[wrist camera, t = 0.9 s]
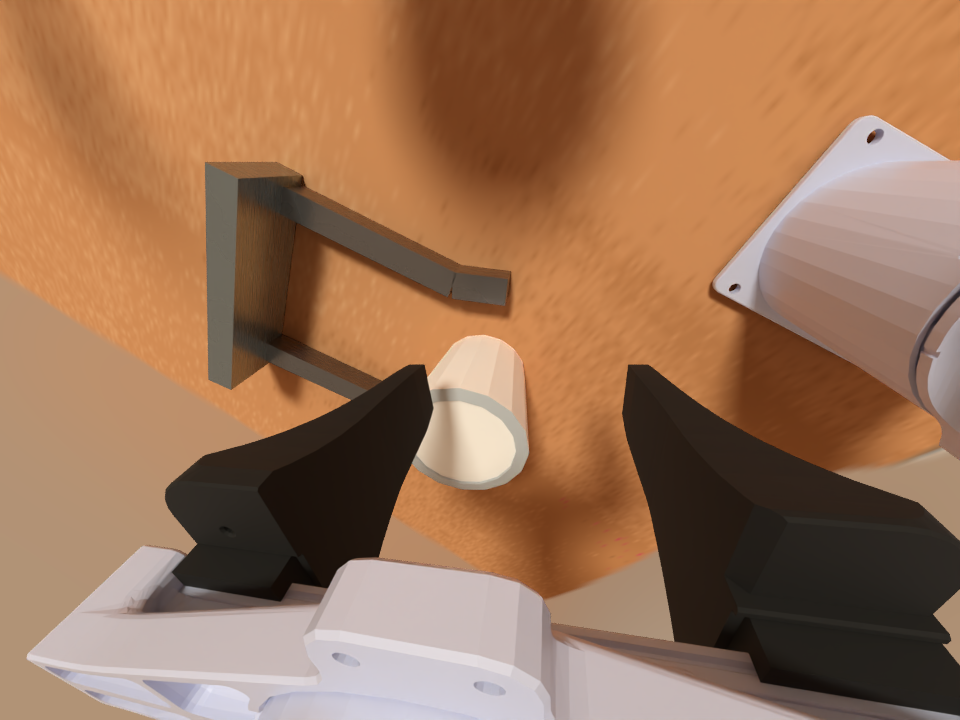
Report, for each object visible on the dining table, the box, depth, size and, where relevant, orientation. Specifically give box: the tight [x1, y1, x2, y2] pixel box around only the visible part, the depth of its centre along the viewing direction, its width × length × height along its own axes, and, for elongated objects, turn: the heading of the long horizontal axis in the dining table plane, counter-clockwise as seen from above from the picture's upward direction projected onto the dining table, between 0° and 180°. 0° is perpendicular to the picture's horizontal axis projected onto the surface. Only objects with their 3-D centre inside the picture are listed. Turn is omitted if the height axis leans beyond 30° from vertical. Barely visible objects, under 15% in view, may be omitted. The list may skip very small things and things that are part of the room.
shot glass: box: [412, 335, 529, 490], centre depth 20 cm, size 7×7×7 cm
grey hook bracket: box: [205, 162, 511, 400], centre depth 20 cm, size 15×14×4 cm
